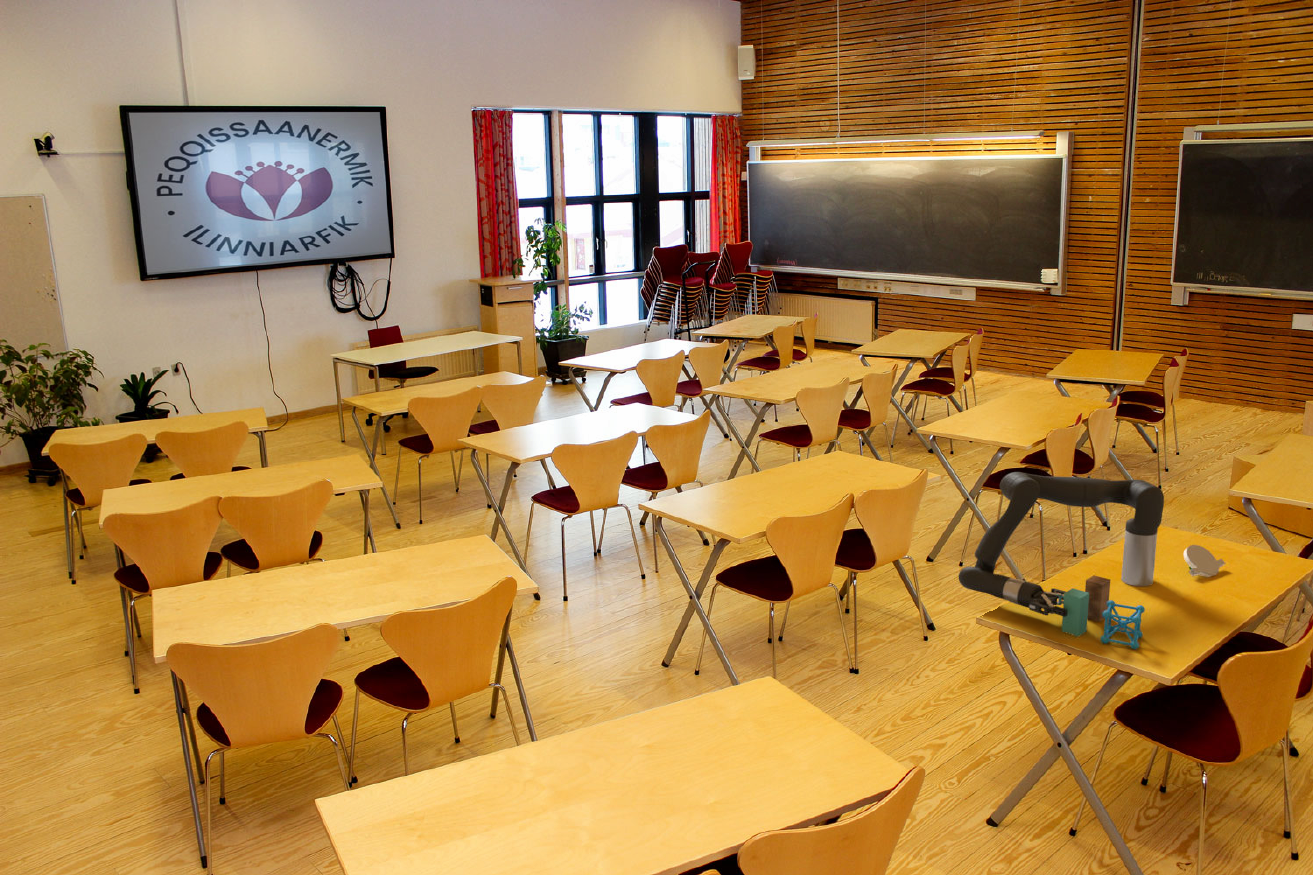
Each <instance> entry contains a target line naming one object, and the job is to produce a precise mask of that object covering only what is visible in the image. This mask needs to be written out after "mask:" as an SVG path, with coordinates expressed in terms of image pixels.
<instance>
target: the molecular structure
mask: <svg viewBox="0 0 1313 875" xmlns="http://www.w3.org/2000/svg"><path fill="white" fill-rule="evenodd" d="M1107 606H1108V609H1107V610H1106V611H1104V612H1103V613H1102V616H1103V617H1104V618H1105V619H1104V626H1103V628H1104V630H1103V635H1101V637H1100V642H1101V643H1102V644H1105V645H1106V644H1108V643H1110V642H1111V643H1115V644H1121V645H1125V646H1130V648H1131V649H1133V650H1137V649H1139V647H1140V643H1139V642H1138V640H1139V639H1140V638H1142V637H1143V636H1144V635H1143V632H1142V631H1141V622H1142V614H1144V612H1145V610H1146V608H1145V607H1144V606H1143V605H1141V604H1139V605H1136V606H1130V605H1125V604H1119V603H1116V602H1115V601H1114V600H1111V599H1109V601H1108V602H1107ZM1115 607H1117V608H1121V609H1122V608H1123V609H1129V610H1134V611H1135V612H1133V613H1132V614H1131V615H1130V616H1125V615H1120V614H1119V613H1118V610H1116V608H1115ZM1112 612H1113V613H1114V614H1112ZM1112 621H1114V622H1116V623H1117V624H1115V625H1112ZM1130 624H1134V628H1132V627H1131V626H1128V625H1130ZM1116 632H1118V633H1123V634H1124V633H1125V634H1126V635H1127V637H1128V639H1129V641H1130V642H1128V641H1127V642H1126V641H1124V640H1123V641H1122V640H1117V639H1111V637H1113V635H1114V634H1115V633H1116ZM1131 635H1133V636H1131Z"/></svg>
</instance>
